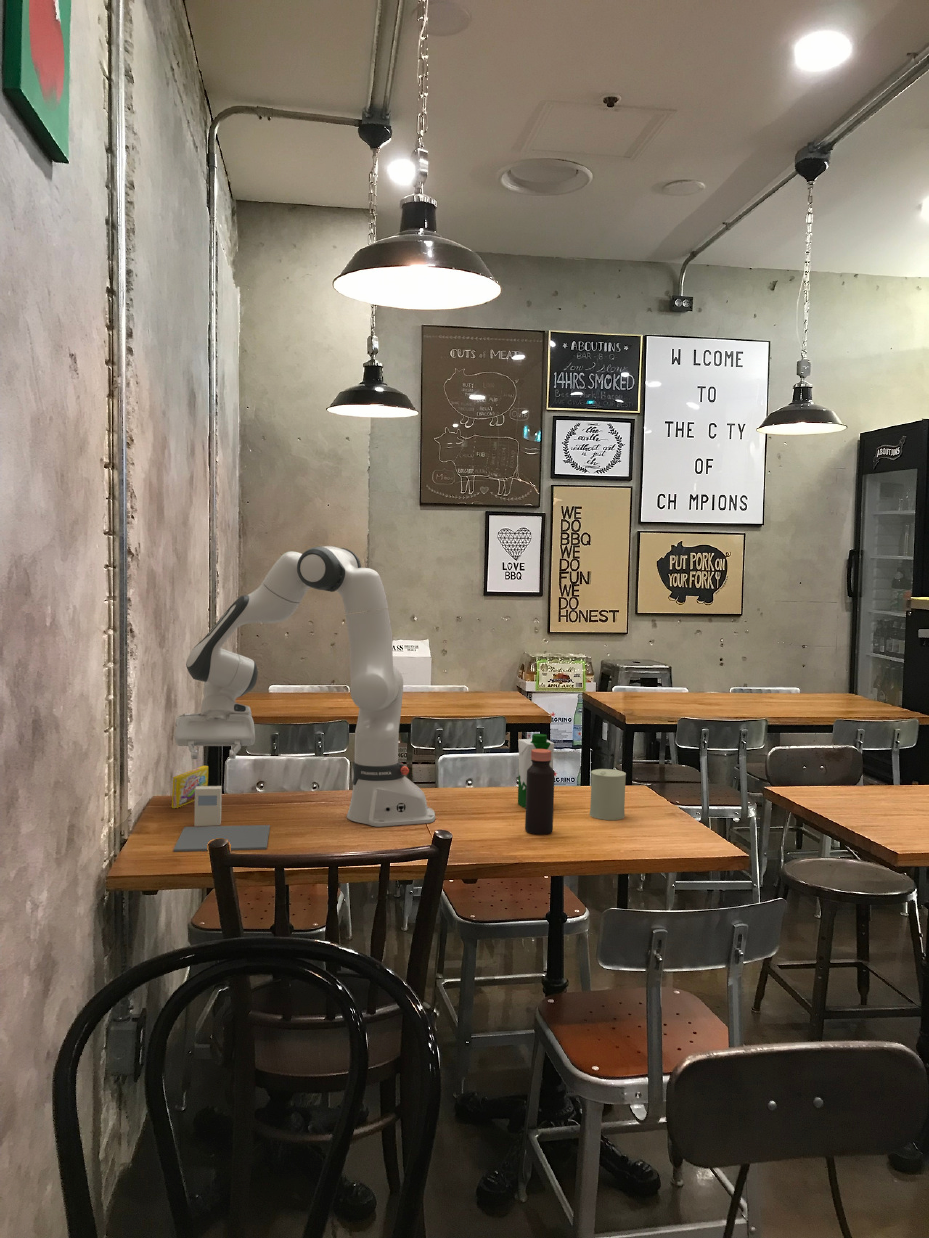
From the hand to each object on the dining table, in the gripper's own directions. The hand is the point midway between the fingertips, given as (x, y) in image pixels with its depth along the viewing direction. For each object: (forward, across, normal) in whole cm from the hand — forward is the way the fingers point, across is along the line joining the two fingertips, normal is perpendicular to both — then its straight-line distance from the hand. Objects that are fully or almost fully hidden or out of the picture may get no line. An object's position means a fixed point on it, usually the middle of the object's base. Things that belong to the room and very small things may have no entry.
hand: (213, 757), depth 229 cm
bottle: (+27, +80, -7) cm, 85 cm away
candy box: (+2, -7, +19) cm, 20 cm away
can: (+18, +102, +3) cm, 104 cm away
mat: (+27, +5, -7) cm, 28 cm away
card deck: (+18, 0, +2) cm, 18 cm away
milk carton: (+10, +85, +10) cm, 86 cm away
